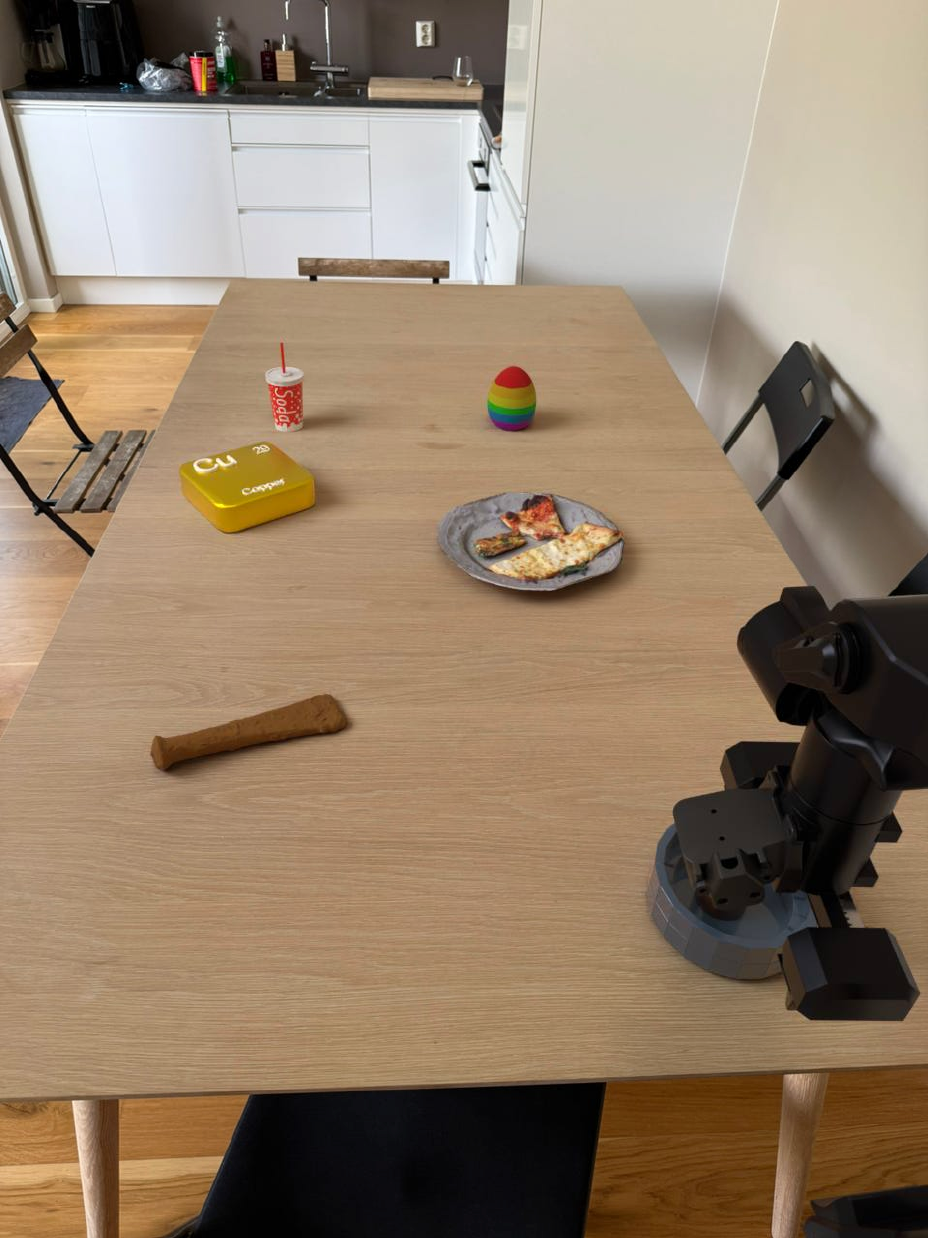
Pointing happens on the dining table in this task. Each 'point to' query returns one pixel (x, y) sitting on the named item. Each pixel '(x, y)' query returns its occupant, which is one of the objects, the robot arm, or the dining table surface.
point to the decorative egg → (512, 399)
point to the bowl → (716, 942)
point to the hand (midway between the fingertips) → (772, 942)
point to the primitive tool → (252, 730)
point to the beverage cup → (286, 396)
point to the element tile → (247, 486)
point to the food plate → (530, 540)
